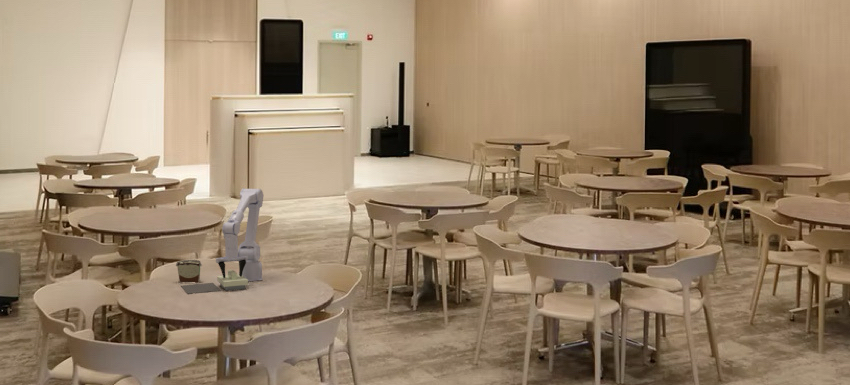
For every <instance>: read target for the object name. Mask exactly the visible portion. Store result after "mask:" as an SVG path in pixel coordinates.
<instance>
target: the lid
mask: <svg viewBox="0 0 850 385" xmlns="http://www.w3.org/2000/svg"><path fill="white" fill-rule="evenodd" d="M216 278H217V279H216V280H217V282H219V283H221V284H222V285H223V286H224V287H229V286H239V285H245V286H249V281H248V279H246V278H245V277H244V276H243V275H242V276H241V277H240V276H239V273H238V272H236V271H235V270H234V269H228V270H227V274H225V278H223V275H217V276H216Z"/></svg>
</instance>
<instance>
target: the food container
mask: <svg viewBox="0 0 850 385" xmlns="http://www.w3.org/2000/svg"><path fill="white" fill-rule="evenodd" d="M175 266H176V267H177V274H178V281H179V283H180V282H195V283H194V284H199V283H200V279H201V277H200V276H201V267H202V266H203V265H202V262H201V260H197V259H184V260H178V261H176V264H175ZM198 282H199V283H198Z"/></svg>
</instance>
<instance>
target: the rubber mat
mask: <svg viewBox="0 0 850 385" xmlns="http://www.w3.org/2000/svg"><path fill="white" fill-rule="evenodd" d="M180 287H181V288H182V290H185V291H184V292H185V293H186V294H187V295H192V293H195V294H201V293H202V294H203V293H213V292H214V293H215V292H221V291H222V289H220V288H219V287H218V286H217V284H215V283H214V282H207V283H192V284H183V285H180Z"/></svg>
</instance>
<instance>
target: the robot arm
mask: <svg viewBox="0 0 850 385" xmlns="http://www.w3.org/2000/svg"><path fill="white" fill-rule="evenodd" d="M263 202H264V192H263V190H262V189H261V188H242V189H241V190H240V191H239V202H238V204H237V207H236V209H235V210H233V211H232V213H230V217H229V218H228V220H227V221H225V223H224V222H223V224H222V228H221V230H222V234H223V238H224V246H225V248H224V249H225V251H224V252H225V253H224V254H225V256H223V257H216V258H215V263H216V264H218V266H219V269H220V270H221V273H222V275H221V276H223V278H225V275H226V264H225V263H229V262H238V268H239V270H238V272H239V273H238V274H239V276H240V277H241V276H242V275H243V276H244V277H245V278H246V279H248V282H257V281H263V266H262V261H260V258H261V246H260V245H259V244H258V243H257V242H256V240H257V239H256V238H257V232H258V224H259V215H260V208H261V207H263ZM247 208H248V214H247V222H246V229H245V235H244V236H245V238H244V241H242V242H240V244H239V242H238V241H239V239H238V235H239V234H240V231H241V224H242V221H243V220H244V218H245V214H244V213H245V212H246V209H247ZM238 244H239V245H238Z"/></svg>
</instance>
